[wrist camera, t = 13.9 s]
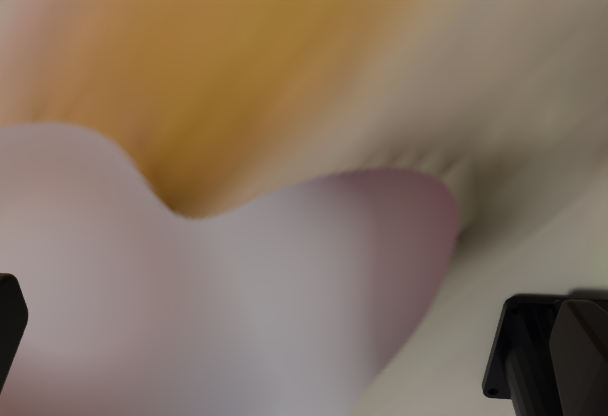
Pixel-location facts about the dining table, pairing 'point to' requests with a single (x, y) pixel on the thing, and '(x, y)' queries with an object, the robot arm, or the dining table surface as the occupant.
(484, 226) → the dining table surface
